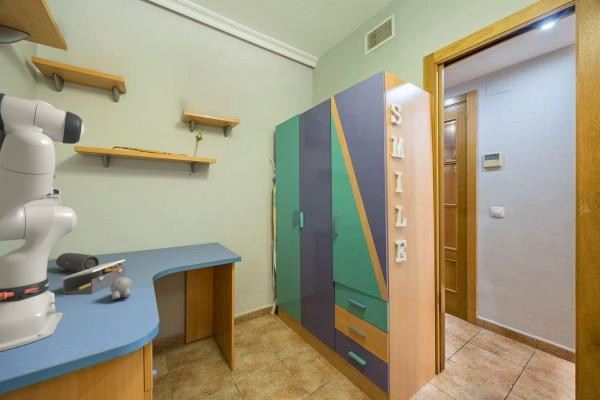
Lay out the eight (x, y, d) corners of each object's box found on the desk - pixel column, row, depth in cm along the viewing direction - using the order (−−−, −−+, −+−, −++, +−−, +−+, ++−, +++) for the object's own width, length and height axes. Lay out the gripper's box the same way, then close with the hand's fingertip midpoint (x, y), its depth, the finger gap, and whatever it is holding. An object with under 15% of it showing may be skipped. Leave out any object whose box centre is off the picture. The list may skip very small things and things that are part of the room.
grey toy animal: (131, 297, 104) (131, 278, 107) (132, 295, 95) (132, 274, 98) (110, 301, 100) (111, 281, 102) (109, 299, 91) (110, 277, 93)
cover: (92, 272, 101) (92, 270, 101) (62, 279, 101) (62, 277, 101) (125, 260, 121) (124, 259, 121) (99, 266, 121) (99, 265, 121)
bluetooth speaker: (54, 271, 132) (54, 253, 132) (74, 267, 141) (74, 250, 141) (80, 276, 125) (80, 257, 125) (100, 271, 134) (100, 253, 134)
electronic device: (103, 277, 125) (103, 271, 125) (104, 270, 137) (104, 264, 137) (123, 274, 130) (123, 268, 130) (122, 267, 142) (122, 262, 142)
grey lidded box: (94, 293, 101) (94, 279, 101) (63, 294, 101) (63, 280, 101) (126, 278, 121) (126, 267, 121) (100, 278, 121) (100, 267, 121)
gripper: (15, 188, 92) (14, 223, 92) (64, 191, 113) (64, 219, 113) (-2, 188, 92) (-3, 223, 92) (51, 191, 112) (50, 219, 112)
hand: (34, 221), depth 102 cm, fingers closed
